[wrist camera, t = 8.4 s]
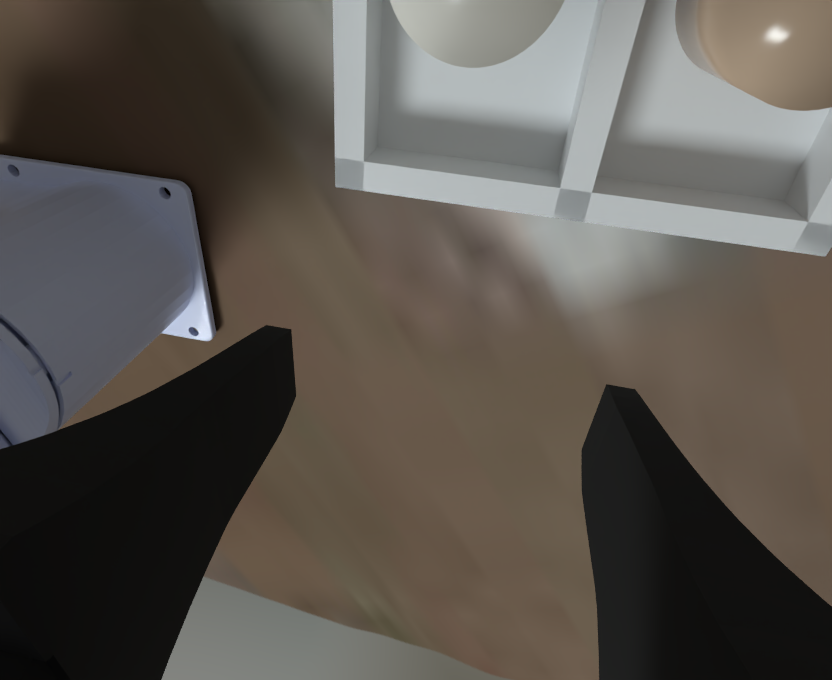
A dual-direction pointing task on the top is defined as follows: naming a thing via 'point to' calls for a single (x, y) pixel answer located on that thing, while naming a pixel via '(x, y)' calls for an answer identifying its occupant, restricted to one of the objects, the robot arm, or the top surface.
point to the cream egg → (475, 27)
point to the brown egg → (763, 47)
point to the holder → (580, 130)
